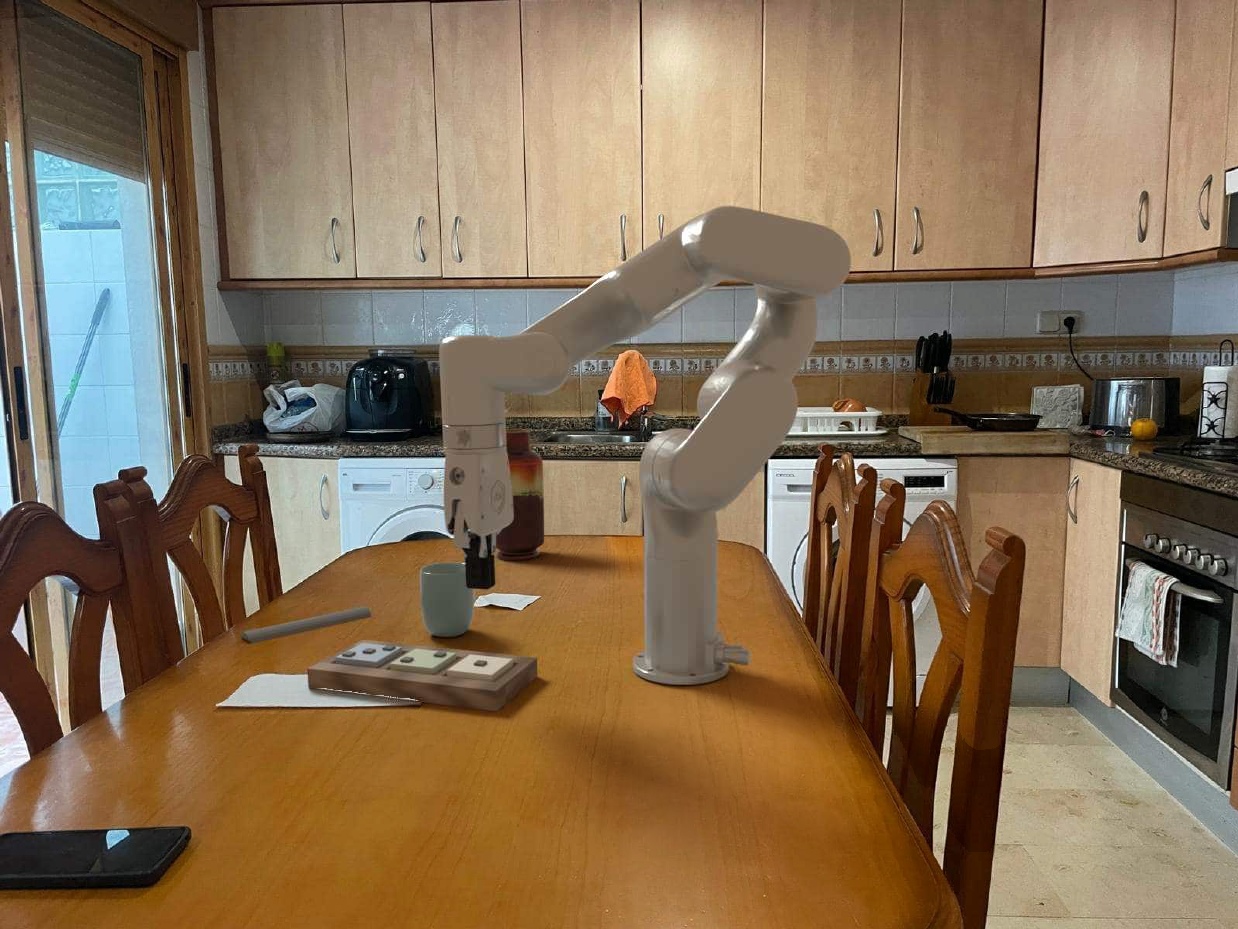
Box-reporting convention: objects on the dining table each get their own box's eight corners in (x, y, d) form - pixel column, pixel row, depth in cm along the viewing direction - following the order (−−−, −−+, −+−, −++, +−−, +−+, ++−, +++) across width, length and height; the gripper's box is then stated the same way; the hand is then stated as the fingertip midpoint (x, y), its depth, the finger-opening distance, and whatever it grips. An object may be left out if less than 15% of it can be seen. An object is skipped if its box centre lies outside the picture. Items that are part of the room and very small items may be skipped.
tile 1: (513, 681, 114) (512, 656, 113) (492, 699, 108) (491, 672, 108) (470, 677, 115) (470, 652, 115) (447, 693, 110) (447, 667, 109)
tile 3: (402, 669, 119) (401, 644, 118) (377, 684, 113) (375, 659, 112) (363, 664, 120) (362, 640, 120) (336, 680, 115) (335, 655, 114)
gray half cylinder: (239, 641, 133) (238, 629, 133) (360, 614, 147) (360, 604, 146) (250, 647, 130) (249, 635, 130) (373, 620, 143) (372, 609, 143)
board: (537, 676, 116) (537, 657, 116) (496, 711, 104) (495, 690, 104) (363, 657, 124) (363, 639, 124) (308, 687, 113) (307, 668, 112)
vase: (555, 553, 188) (553, 429, 185) (522, 564, 179) (519, 433, 175) (513, 548, 194) (511, 427, 191) (479, 558, 184) (476, 431, 181)
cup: (463, 643, 130) (461, 575, 129) (413, 640, 131) (411, 573, 130) (482, 627, 137) (480, 563, 136) (434, 624, 139) (432, 561, 138)
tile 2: (456, 675, 116) (456, 650, 116) (433, 691, 110) (432, 666, 110) (416, 670, 118) (415, 646, 118) (390, 686, 112) (389, 661, 112)
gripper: (474, 445, 100) (480, 606, 102) (528, 433, 114) (533, 574, 116) (414, 444, 102) (422, 601, 104) (475, 432, 116) (480, 571, 119)
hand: (480, 587), depth 110 cm, fingers closed
